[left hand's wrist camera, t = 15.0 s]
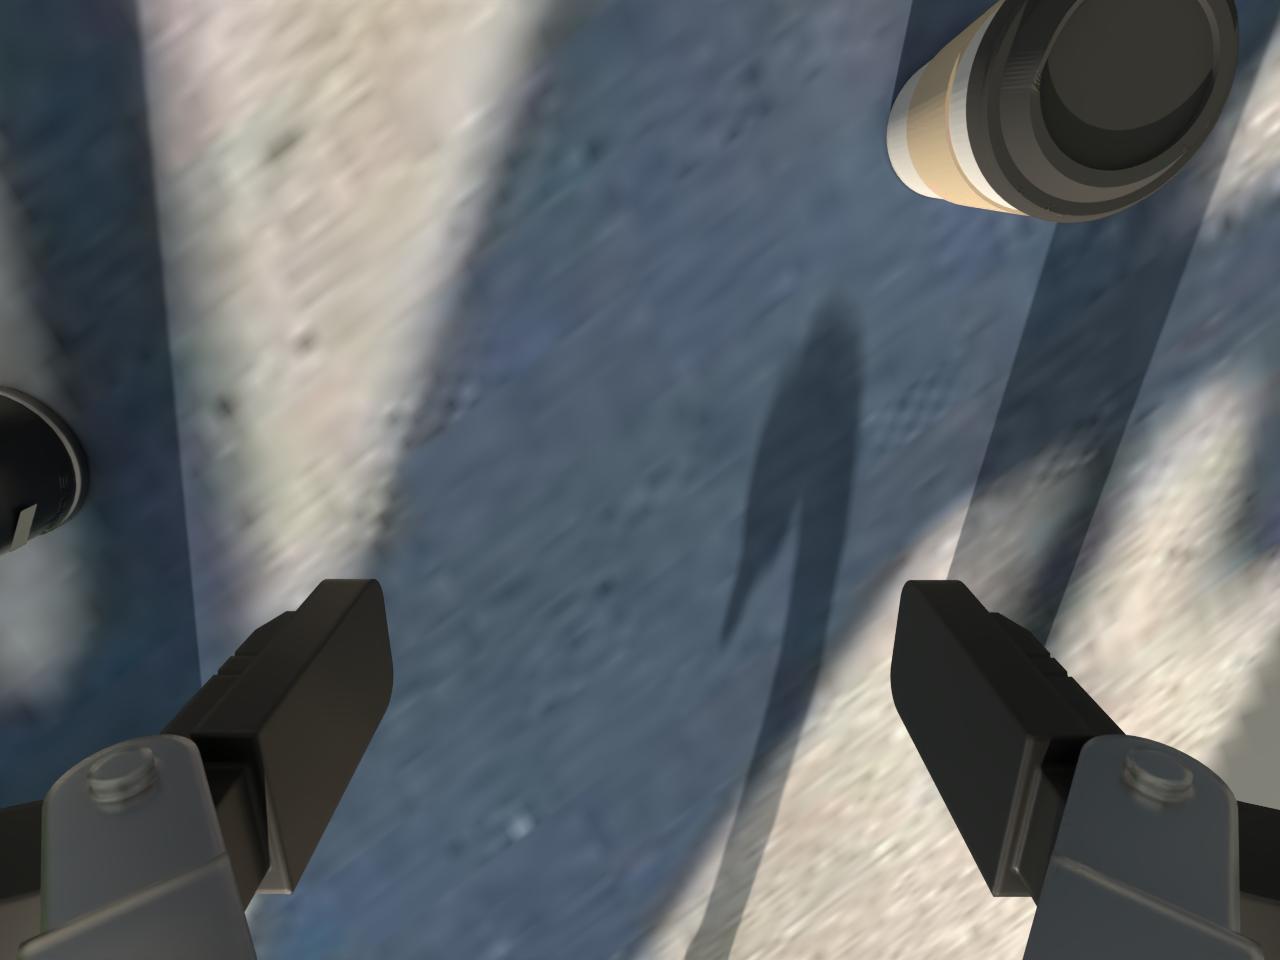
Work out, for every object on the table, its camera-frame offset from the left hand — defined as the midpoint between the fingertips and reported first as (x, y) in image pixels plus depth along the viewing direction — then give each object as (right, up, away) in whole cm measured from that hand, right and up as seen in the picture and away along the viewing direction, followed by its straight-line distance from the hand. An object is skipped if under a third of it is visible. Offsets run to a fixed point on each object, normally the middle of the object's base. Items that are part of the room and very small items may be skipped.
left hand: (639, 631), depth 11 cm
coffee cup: (+16, +21, +27) cm, 37 cm away
